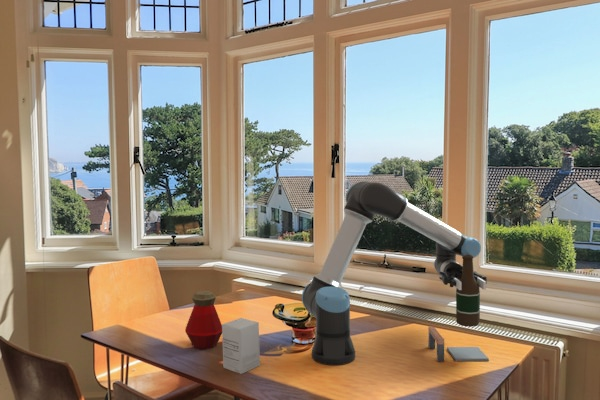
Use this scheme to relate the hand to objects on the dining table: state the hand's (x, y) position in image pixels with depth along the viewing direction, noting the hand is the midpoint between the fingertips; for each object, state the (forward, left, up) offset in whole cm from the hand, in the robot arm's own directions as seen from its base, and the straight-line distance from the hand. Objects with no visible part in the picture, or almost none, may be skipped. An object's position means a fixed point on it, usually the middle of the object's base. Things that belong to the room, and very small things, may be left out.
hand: (472, 285), depth 165 cm
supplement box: (-78, -4, -26) cm, 82 cm away
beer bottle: (0, +5, -15) cm, 15 cm away
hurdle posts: (-11, +6, -25) cm, 28 cm away
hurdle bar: (-11, +6, -19) cm, 23 cm away
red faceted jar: (-95, +17, -26) cm, 100 cm away
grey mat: (0, +5, -25) cm, 26 cm away
